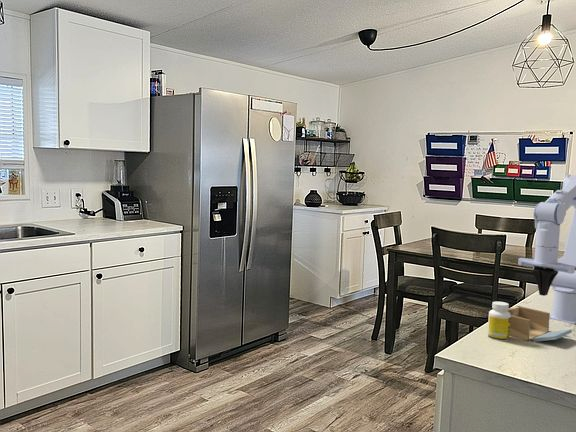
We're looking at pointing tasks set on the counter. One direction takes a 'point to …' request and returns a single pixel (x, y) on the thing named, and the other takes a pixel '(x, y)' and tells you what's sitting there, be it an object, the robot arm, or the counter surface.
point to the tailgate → (552, 335)
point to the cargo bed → (528, 323)
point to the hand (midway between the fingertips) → (543, 294)
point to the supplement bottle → (499, 322)
